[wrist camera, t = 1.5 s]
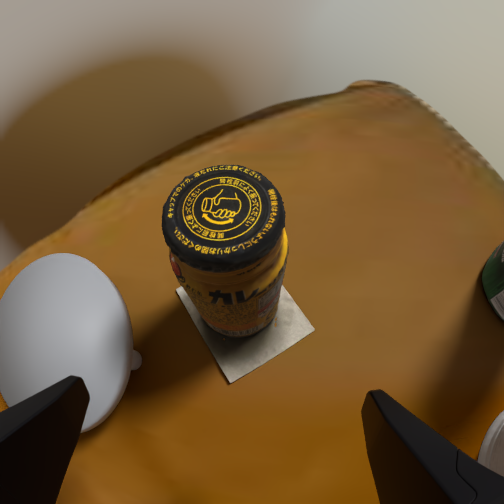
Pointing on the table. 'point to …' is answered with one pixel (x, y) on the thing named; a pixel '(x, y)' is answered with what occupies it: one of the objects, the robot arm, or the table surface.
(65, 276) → the round white stand
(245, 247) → the condiment
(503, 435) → the glass holder
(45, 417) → the robot arm
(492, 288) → the coffee jar
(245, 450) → the table surface
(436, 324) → the table surface
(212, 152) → the table surface
